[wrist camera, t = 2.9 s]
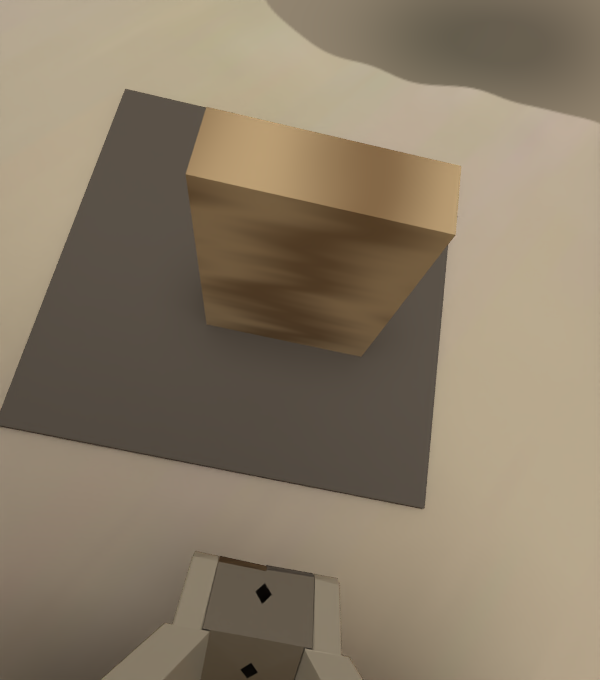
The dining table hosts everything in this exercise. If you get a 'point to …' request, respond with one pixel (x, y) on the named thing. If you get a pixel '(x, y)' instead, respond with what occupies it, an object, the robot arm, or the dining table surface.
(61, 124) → the dining table surface
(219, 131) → the beech tile
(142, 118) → the rubber mat
